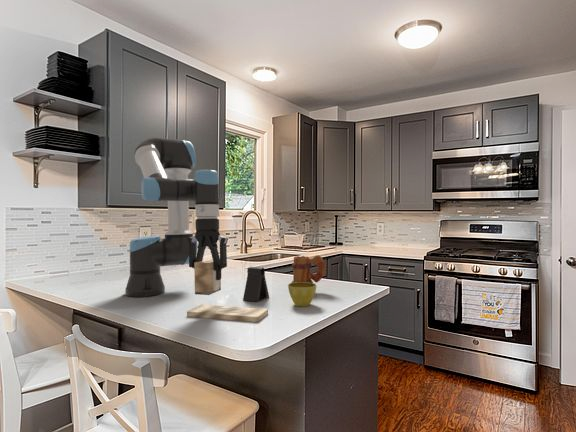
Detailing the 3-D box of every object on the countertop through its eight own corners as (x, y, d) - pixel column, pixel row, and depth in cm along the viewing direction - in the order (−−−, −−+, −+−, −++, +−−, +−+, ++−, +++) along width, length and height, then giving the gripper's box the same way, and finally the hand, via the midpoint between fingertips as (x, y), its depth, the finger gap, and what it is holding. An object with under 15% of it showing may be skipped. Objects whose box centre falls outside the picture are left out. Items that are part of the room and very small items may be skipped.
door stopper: (256, 302, 130) (256, 269, 129) (242, 300, 132) (242, 268, 132) (269, 297, 138) (268, 266, 137) (256, 295, 140) (255, 265, 140)
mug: (288, 291, 147) (287, 255, 147) (295, 287, 154) (294, 253, 154) (322, 294, 141) (321, 256, 141) (327, 290, 149) (327, 254, 149)
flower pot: (312, 300, 132) (312, 281, 132) (319, 307, 122) (319, 286, 122) (286, 302, 130) (285, 282, 130) (290, 309, 120) (290, 288, 120)
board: (187, 316, 113) (186, 311, 113) (201, 308, 121) (201, 304, 121) (257, 322, 106) (257, 316, 106) (267, 313, 115) (267, 309, 115)
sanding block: (194, 294, 112) (194, 262, 112) (207, 289, 120) (206, 259, 120) (209, 295, 111) (208, 262, 111) (220, 289, 118) (220, 259, 118)
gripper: (176, 218, 114) (177, 290, 114) (227, 217, 109) (228, 293, 109) (189, 218, 121) (189, 286, 121) (237, 217, 116) (238, 288, 116)
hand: (208, 289), depth 115 cm, fingers closed on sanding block, 5 cm apart
